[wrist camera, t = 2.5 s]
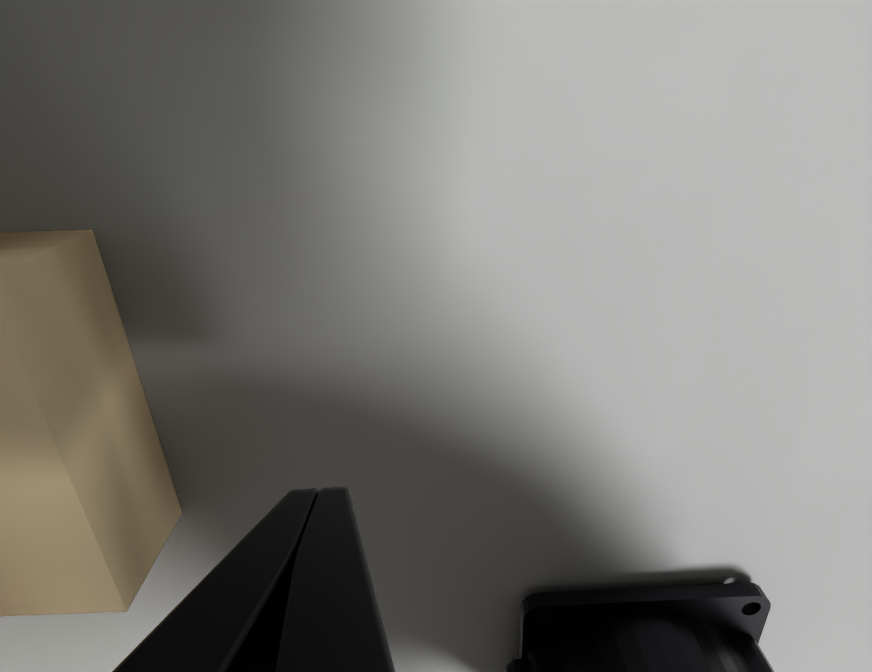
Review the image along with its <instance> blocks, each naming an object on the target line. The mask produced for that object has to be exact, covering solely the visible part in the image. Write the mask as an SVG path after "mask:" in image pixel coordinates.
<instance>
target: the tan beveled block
mask: <svg viewBox="0 0 872 672" xmlns="http://www.w3.org/2000/svg"><path fill="white" fill-rule="evenodd" d="M181 514H182V510H181V507H180V504H179V500H178V497H177V494H176V491H175V488H174V485H173V482H172V478H171V475H170V472H169V469H168V466H167V463H166V459H165V456H164V453H163V450H162V447H161V444H160V441H159V437H158V434H157V431H156V428H155V425H154V422H153V419H152V415H151V412H150V409H149V406H148V403H147V400H146V396H145V393H144V390H143V387H142V384H141V381H140V378H139V374H138V371H137V368H136V365H135V362H134V359H133V356H132V352H131V349H130V346H129V343H128V340H127V337H126V334H125V330H124V327H123V324H122V321H121V318H120V315H119V311H118V308H117V305H116V302H115V299H114V296H113V293H112V289H111V286H110V283H109V280H108V277H107V274H106V271H105V267H104V264H103V261H102V258H101V255H100V252H99V248H98V245H97V242H96V239H95V236H94V233H93V230H65V231H34V232H2V233H0V616H16V615H44V614H71V613H99V612H126V611H127V610H128V608H129V607H130V605H131V603H132V601H133V599H134V598H135V596H136V594H137V592H138V591H139V589H140V587H141V585H142V583H143V582H144V580H145V578H146V576H147V575H148V573H149V571H150V569H151V567H152V566H153V564H154V562H155V560H156V559H157V557H158V555H159V553H160V551H161V550H162V548H163V546H164V544H165V542H166V541H167V539H168V537H169V535H170V534H171V532H172V530H173V528H174V526H175V525H176V523H177V521H178V519H179V518H180V516H181Z"/></svg>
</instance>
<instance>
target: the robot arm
mask: <svg viewBox="0 0 872 672" xmlns="http://www.w3.org/2000/svg"><path fill="white" fill-rule="evenodd" d="M769 610H770V602H769V600H768V599H767V597H766V596H765V594H764V593H763V591H762V590H761V588H760V587H759V586H758V585H756V584H754V583H729V584H708V585H688V586H668V587H647V588H627V589H607V590H586V591H566V592H546V593H536V594H532V595H530V596H528V597H526V598H525V599H524V600H523V601H522V604H521V613H520V642H519V658H512V659H511V660H510V662H509V663H508V664H507V666H506V672H774V671H773V669H772V667H771V666H770V664H769V662H768V661H767V659H766V657H765V656H764V654H763V652H762V651H761V649H760V647H759V646H758V642H759V639H760V636H761V633H762V630H763V627H764V625H765V622H766V619H767V616H768V613H769ZM112 672H395V670H394V666H393V662H392V658H391V654H390V650H389V646H388V643H387V639H386V635H385V631H384V627H383V623H382V619H381V615H380V611H379V608H378V604H377V600H376V596H375V592H374V588H373V584H372V580H371V576H370V572H369V569H368V565H367V561H366V557H365V553H364V549H363V545H362V541H361V537H360V534H359V530H358V526H357V522H356V518H355V514H354V510H353V506H352V502H351V498H350V495H349V491H348V489H347V488H346V487H332V488H323V489H321V490H320V491H319V490H317V489H315V488H311V489H295V490H292V491H290V492H289V493H287V494H286V495H285V496H284V497H283V498H282V500H281V501H280V502H279V503H278V504H277V505H276V506H275V507H274V508H273V509H272V510H271V511H270V512H269V513H268V514H267V515H266V516H265V517H264V518H263V519H262V520H261V521H260V522H259V523H258V524H257V525H256V526H255V527H254V528H253V529H252V530H251V531H250V532H249V533H248V534H247V535H246V536H245V537H244V538H243V539H242V540H241V541H240V542H239V543H238V544H237V545H236V546H235V547H234V548H233V549H232V550H231V551H230V552H229V553H228V554H227V555H226V556H225V558H224V559H223V560H222V561H221V562H220V563H219V564H218V565H217V566H216V567H215V568H214V569H213V570H212V571H211V572H210V573H209V574H208V575H207V576H206V577H205V578H204V579H203V580H202V581H201V582H200V583H199V584H198V585H197V586H196V587H195V588H194V589H193V590H192V591H191V592H190V593H189V594H188V595H187V596H186V597H185V598H184V599H183V600H182V601H181V602H180V603H179V604H178V605H177V606H176V607H175V608H174V609H173V610H172V611H171V612H170V613H169V614H168V615H167V617H166V618H165V619H164V620H163V621H162V622H161V623H160V624H159V625H158V626H157V627H156V628H155V629H154V630H153V631H152V632H151V633H150V634H149V635H148V636H147V637H146V638H145V639H144V640H143V641H142V642H141V643H140V644H139V645H138V646H137V647H136V648H135V649H134V650H133V651H132V652H131V653H130V654H129V655H128V656H127V657H126V658H125V659H124V660H123V661H122V662H121V663H120V664H119V665H118V666H117V667H116V668H115V669H114V670H113V671H112Z"/></svg>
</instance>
